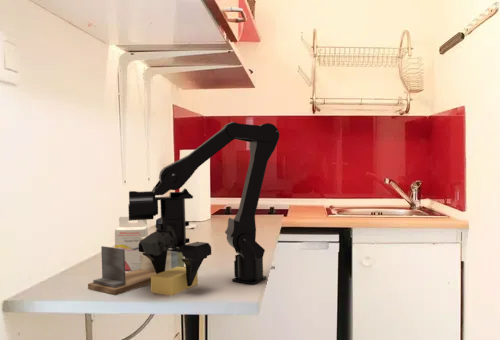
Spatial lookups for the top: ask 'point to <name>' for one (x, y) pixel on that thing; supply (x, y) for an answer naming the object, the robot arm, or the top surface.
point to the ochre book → (171, 281)
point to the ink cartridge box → (130, 241)
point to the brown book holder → (120, 281)
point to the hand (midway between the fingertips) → (174, 283)
